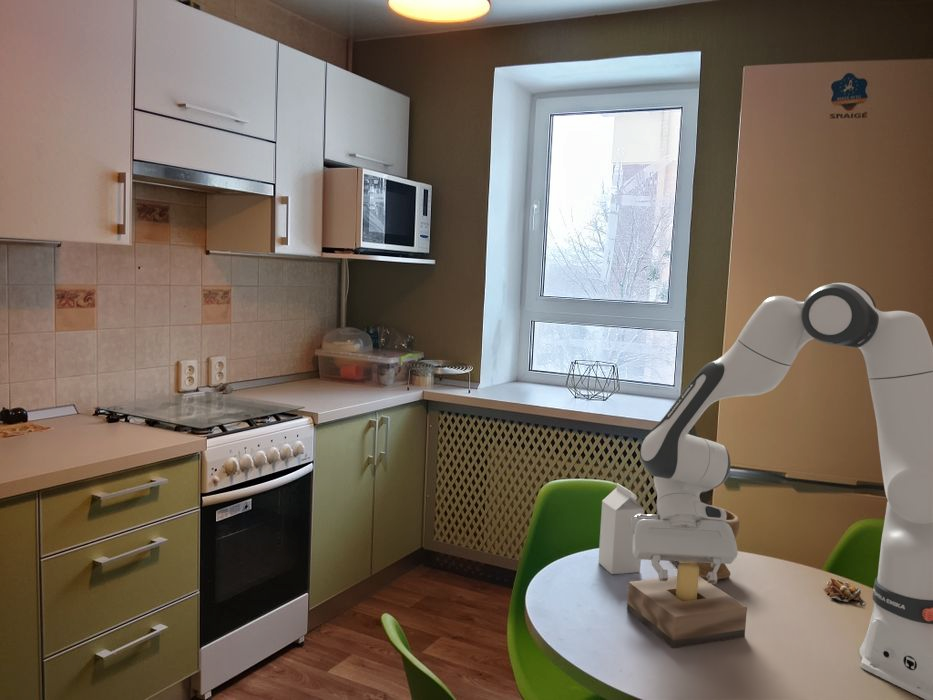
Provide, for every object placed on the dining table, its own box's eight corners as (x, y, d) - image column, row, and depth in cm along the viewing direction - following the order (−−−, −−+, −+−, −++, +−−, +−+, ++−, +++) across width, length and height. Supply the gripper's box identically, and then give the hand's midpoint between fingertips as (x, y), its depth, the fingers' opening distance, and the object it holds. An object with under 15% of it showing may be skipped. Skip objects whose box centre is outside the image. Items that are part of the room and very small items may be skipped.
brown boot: (744, 582, 177) (750, 517, 175) (694, 584, 175) (699, 518, 173) (713, 556, 192) (718, 496, 190) (666, 558, 190) (671, 497, 188)
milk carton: (611, 575, 178) (616, 492, 176) (598, 563, 185) (602, 483, 182) (640, 572, 180) (645, 491, 178) (625, 561, 187) (631, 482, 184)
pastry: (848, 584, 179) (849, 569, 178) (866, 607, 167) (868, 591, 167) (815, 581, 180) (817, 566, 179) (831, 604, 168) (833, 588, 168)
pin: (699, 619, 154) (703, 569, 153) (682, 621, 153) (685, 571, 152) (687, 610, 158) (690, 562, 157) (670, 612, 157) (673, 564, 155)
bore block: (744, 636, 151) (747, 606, 150) (672, 648, 145) (675, 616, 145) (693, 601, 166) (695, 573, 165) (626, 610, 160) (628, 581, 160)
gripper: (631, 506, 160) (636, 572, 152) (733, 511, 160) (745, 577, 151) (626, 520, 165) (631, 584, 157) (725, 525, 164) (736, 590, 156)
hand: (688, 581), depth 154 cm, fingers open, 8 cm apart
